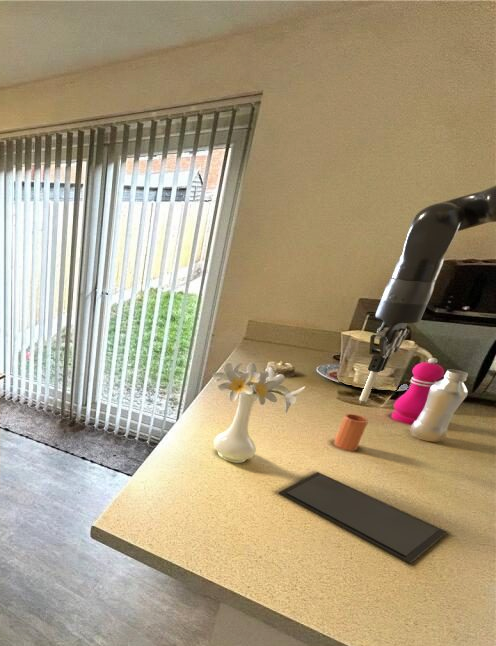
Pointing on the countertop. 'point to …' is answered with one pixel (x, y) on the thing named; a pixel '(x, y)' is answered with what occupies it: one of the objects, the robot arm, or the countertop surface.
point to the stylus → (368, 386)
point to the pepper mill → (417, 391)
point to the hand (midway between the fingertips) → (375, 370)
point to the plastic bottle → (440, 406)
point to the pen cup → (350, 432)
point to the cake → (281, 368)
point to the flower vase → (247, 407)
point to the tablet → (365, 516)
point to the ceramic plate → (332, 372)
